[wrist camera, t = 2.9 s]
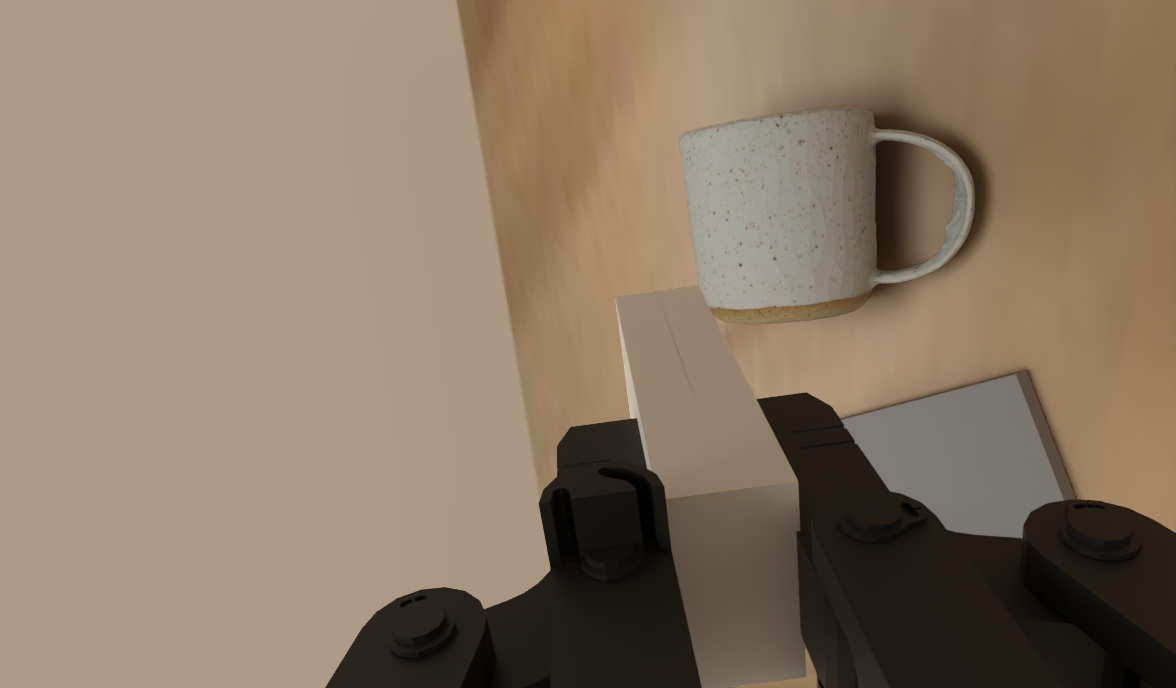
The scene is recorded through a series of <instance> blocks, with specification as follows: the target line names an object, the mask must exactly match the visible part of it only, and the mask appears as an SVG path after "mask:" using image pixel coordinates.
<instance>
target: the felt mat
mask: <svg viewBox="0 0 1176 688" xmlns="http://www.w3.org/2000/svg"><path fill="white" fill-rule="evenodd" d="M840 420H841V421H842V423H843V424H844V428H847V430H848V431H849V433H850V434H851V436H852V437H853V438H854V440H855V444H858V446H859V447H860V449H861V450H862V452H863V453H864V454H865V456H866V457H867V459H868V460H869V462H870V463H871V465H872V466H873V467H874V469H875V470H876V472H877V473H878V475H879V476H880V478H881V479H882V480H883V482H884V483H885V485H886V486H887V488H888V489H889V491H890V492H896V493H901V494H903V495H906V496H908V497H910V498H912V499H915V500H917V501H919V502H922V503H923V504H924V505H925V506H926V507H927V508H928V509H930V510H931V511H932V512H933V513H934V514H935V515H936V516H937V517H938V519H939V520H940V521H941V523H942V524H943V525H944V527H945V528H946V529H947V530H950V531H954V532H959V533H966V534H974V535H986V536H1000V537H1014V538H1022V537H1023V525H1024V523H1025V521H1026V519H1027V518H1028V516H1029V514H1030V512H1031V511H1033V510H1035V509H1037V508H1039V507H1041V506H1043V505H1045V504H1046V503H1051V502H1057V501H1064V500H1070V499H1074V500H1076V497H1075V494H1074V492H1073V489H1072V487H1071V484H1070V481H1069V479H1068V476H1067V474H1066V471H1065V468H1064V466H1063V463H1062V461H1061V458H1060V455H1059V453H1058V450H1057V447H1056V445H1055V442H1054V440H1053V437H1052V434H1051V432H1050V429H1049V427H1048V424H1047V421H1046V419H1045V416H1044V414H1043V411H1042V408H1041V406H1040V403H1039V401H1038V398H1037V395H1036V393H1035V390H1034V388H1033V385H1032V382H1031V380H1030V377H1029V375H1028V372H1027V370H1024V371H1020V372H1016V373H1012V374H1008V375H1005V376H1001V377H997V378H993V379H989V380H986V381H982V382H978V383H974V384H971V385H967V386H963V387H959V388H955V389H952V390H948V391H944V392H940V393H937V394H933V395H929V396H925V397H921V398H918V399H914V400H910V401H906V402H902V403H899V404H895V405H891V406H887V407H884V408H880V409H876V410H872V411H868V412H865V413H861V414H857V415H853V416H849V417H846V418H842V419H840ZM737 687H739V686H735V687H728V688H737Z"/></svg>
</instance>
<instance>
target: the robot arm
mask: <svg viewBox="0 0 1176 688" xmlns="http://www.w3.org/2000/svg"><path fill="white" fill-rule="evenodd" d="M615 300H616V308H617V316H618V323H619V331H620V339H621V347H622V355H623V362H624V370H625V378H626V386H627V394H628V402H629V409H630V417H631V419H627V420H619V421H612V422H605V423H597V424H590V425H583V426H576V427H570V429H569V430H568V432H567V433H566V435H565V436H564V437H563V439H562V440H561V442H560V443H559V444H558V446H557V468H558V470H557V477H556V478H555V479H554V480H553V481H552V482H551V483H550V484H549V485H548V486H547V487H546V488H545V489H544V490H543V493H542V496H541V499H540V501H539V507H540V513H541V518H542V524H543V529H544V534H545V540H546V545H547V551H548V556H549V561H550V567H551V570H550V572H549V573H548V574H547V575H546V576H545V577H544V578H543V579H542V580H541V581H540V582H539V583H538V584H537V585H535V586H534V587H532V588H531V589H529V590H528V591H526V592H525V593H523V594H521V595H519V596H516V597H514V598H512V599H510V600H508V601H505V602H503V603H500V604H497V605H495V606H492V607H489V608H486V609H483V607H482V604H481V602H480V601H479V600H478V599H476V598H475V597H473V596H472V595H470V594H469V593H467V592H466V591H462V590H457V589H451V588H445V587H443V588H433V589H424V590H419V591H416V592H414V593H411V594H408V595H405V596H402V597H400V598H397V599H396V600H394V601H393V602H391V603H389V604H388V605H386V606H385V607H383V608H382V609H380V610H379V611H377V612H376V613H375V614H374V615H373V617H372V618H371V619H370V620H369V621H368V622H367V623H366V625H365V626H364V627H363V628H362V629H361V631H360V632H359V634H358V636H357V637H356V639H355V641H354V642H353V644H352V646H351V647H350V649H349V650H348V652H347V653H346V655H345V657H344V659H343V660H342V662H341V663H340V665H339V667H338V668H337V670H336V671H335V673H334V675H333V676H332V678H331V679H330V681H329V683H328V684H327V686H326V687H325V688H728V687H735V686H743V685H751V684H758V683H766V682H773V681H781V680H789V679H796V678H804V677H806V659H805V645H806V648H807V650H808V653H809V656H810V658H811V661H812V663H813V666H814V668H815V671H816V673H817V688H1176V533H1175V532H1173V531H1171V530H1170V529H1168V528H1166V527H1165V526H1163V525H1161V524H1160V523H1158V522H1156V521H1155V520H1153V519H1151V518H1148V517H1146V516H1144V515H1142V514H1140V513H1137V512H1135V511H1133V510H1131V509H1129V508H1126V507H1122V506H1117V505H1113V504H1109V503H1105V502H1102V501H1094V500H1074V499H1070V500H1064V501H1057V502H1051V503H1046V504H1045V505H1043V506H1041V507H1039V508H1037V509H1035V510H1033V511H1031V512H1030V514H1029V516H1028V518H1027V519H1026V521H1025V523H1024V525H1023V537H1022V538H1014V537H1000V536H986V535H974V534H966V533H959V532H954V531H950V530H947V529H946V528H945V527H944V525H943V524H942V523H941V521H940V520H939V519H938V517H937V516H936V515H935V514H934V513H933V512H932V511H931V510H930V509H928V508H927V507H926V506H925V505H924V504H923V503H922V502H919V501H917V500H915V499H912V498H910V497H908V496H906V495H903V494H901V493H896V492H890V491H889V489H888V488H887V486H886V485H885V483H884V482H883V480H882V479H881V478H880V476H879V475H878V473H877V472H876V470H875V469H874V467H873V466H872V465H871V463H870V462H869V460H868V459H867V457H866V456H865V454H864V453H863V452H862V450H861V449H860V447H859V446H858V444H855V440H854V438H853V437H852V436H851V434H850V433H849V431H848V430H847V428H844V424H843V423H842V421H841V420H840V418H839V417H838V415H837V414H836V412H835V411H834V410H833V408H832V407H831V406H830V405H828V404H826V403H824V402H823V401H821V400H819V399H817V398H815V397H814V396H812V395H810V394H808V393H807V392H806V393H799V394H791V395H784V396H777V397H769V398H762V399H756V398H755V396H754V394H753V392H752V390H751V388H750V386H749V384H748V382H747V380H746V378H745V376H744V374H743V372H742V370H741V369H740V367H739V365H738V363H737V361H736V359H735V357H734V355H733V353H732V351H731V349H730V347H729V345H728V343H727V341H726V339H725V337H724V335H723V333H722V331H721V330H720V328H719V326H718V324H717V322H716V320H715V318H714V316H713V314H712V312H711V310H710V308H709V306H708V304H707V302H706V300H705V298H704V296H703V294H702V292H701V291H700V289H699V287H698V285H697V286H690V287H683V288H676V289H668V290H661V291H654V292H647V293H640V294H633V295H625V296H618V297H615Z"/></svg>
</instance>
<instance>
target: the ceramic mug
mask: <svg viewBox="0 0 1176 688" xmlns="http://www.w3.org/2000/svg"><path fill="white" fill-rule="evenodd" d="M884 140H885V141H900V142H907V143H910V144H914V145H918V146H921V147H924V148H926V149H928V150H930V151H932V152H933V153H934V154H935V155H936V156H937V157H939V158H940V159H942V160H943V161H944V163H945V165H947V166H948V167H950V168H951V169H952V170H953V171H954V174H955V198H954V208H953V213H952V217H951V221H950V222H949V223H948V225H947V226H946V227H945V235H946V240H945V241H944V243H943V245H942V247H941V251H940V252H939V253H938V254H936V255H935V256H934V257H932V258H931V259H930V260H928V261H927V262H924V263H921V264H917V265H915V266H913V267H909V268H904V269H899V270H890V271H880V270H879V269H877V268H876V267H877V241H876V222H875V199H876V195H875V188H876V154H875V153H876V144H877V143H878V142H881V141H884ZM679 145H680V151H681V157H682V163H683V170H684V178H685V186H686V193H687V201H688V209H689V216H690V222H691V228H692V235H693V241H694V250H695V259H696V266H697V273H698V280H699V284H700V287H701V290H702V294H703V296H704V298H705V300H706V302H707V304H708V306H709V308H710V310H711V312H712V314H713V316H715V317H716V318H717V319H720V320H722V321H724V322H728V323H738V324H770V323H787V322H798V321H808V320H815V319H822V318H828V317H833V316H837V315H842V314H846V313H849V312H852V311H855V310H856V309H858V308H860V307H861V306H863V304H864V303H865V302H866V301H867V300H868V298H869V297H870V295H871V293H872V290H873V287H874V286H876V285H877V284H879V283H900V282H904V281H908V280H911V279H916V278H919V277H921V276H924V275H926V274H929V273H931V272H933V271H935V270H937V269H938V268H940V267H941V266H943V265H944V264H946V263H947V262H948V261H949V260H950V259H951V258H952V257H953V256H954V255H955V254H956V253H957V252H958V250H959V249H960V248H961V246H962V245H963V243H964V241H965V240H966V238H967V236H968V234H969V231H970V229H971V225H972V221H973V217H974V211H975V191H974V183H973V178H972V176H971V173H970V171H969V169H968V167H967V166H966V164H965V163H964V162H963V160H962V159H961V157H960V156H958V155H957V154H956V153H955V152H954V151H953V150H952V149H950V148H949V147H948V146H946V145H945V144H943V143H942V142H940V141H938V140H935V139H933V138H931V137H928V136H926V135H923V134H919V133H915V132H910V131H903V130H893V129H878V128H876V127H875V121H874V114H873V111H872V110H871V109H868V108H863V107H836V108H827V109H815V110H807V111H798V112H791V113H782V114H776V115H770V116H762V117H755V118H750V119H742V120H737V121H732V122H727V123H723V124H717V125H713V126H708V127H704V128H700V129H695V130H691V131H687V132H685V133H684V134H683V135H682V136H681V138H680V142H679Z"/></svg>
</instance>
